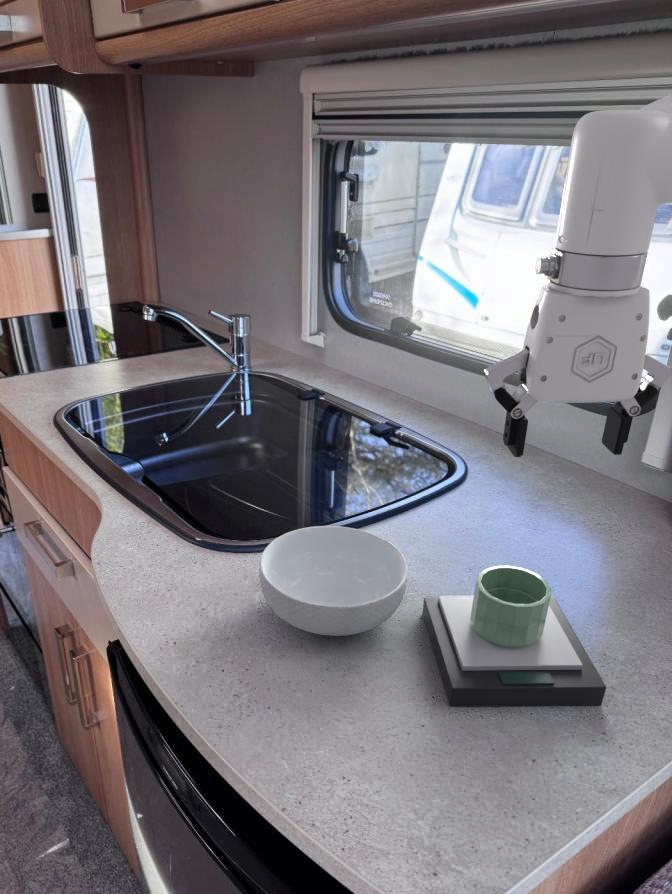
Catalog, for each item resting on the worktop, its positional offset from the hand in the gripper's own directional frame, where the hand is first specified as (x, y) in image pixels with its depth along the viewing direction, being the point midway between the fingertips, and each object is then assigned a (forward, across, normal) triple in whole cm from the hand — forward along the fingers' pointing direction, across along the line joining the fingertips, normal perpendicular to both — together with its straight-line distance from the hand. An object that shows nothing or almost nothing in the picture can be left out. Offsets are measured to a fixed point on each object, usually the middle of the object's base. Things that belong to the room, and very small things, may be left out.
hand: (562, 450), depth 71 cm
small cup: (+19, -4, -4) cm, 20 cm away
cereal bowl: (+22, -22, +3) cm, 31 cm away
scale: (+22, -4, -5) cm, 23 cm away
